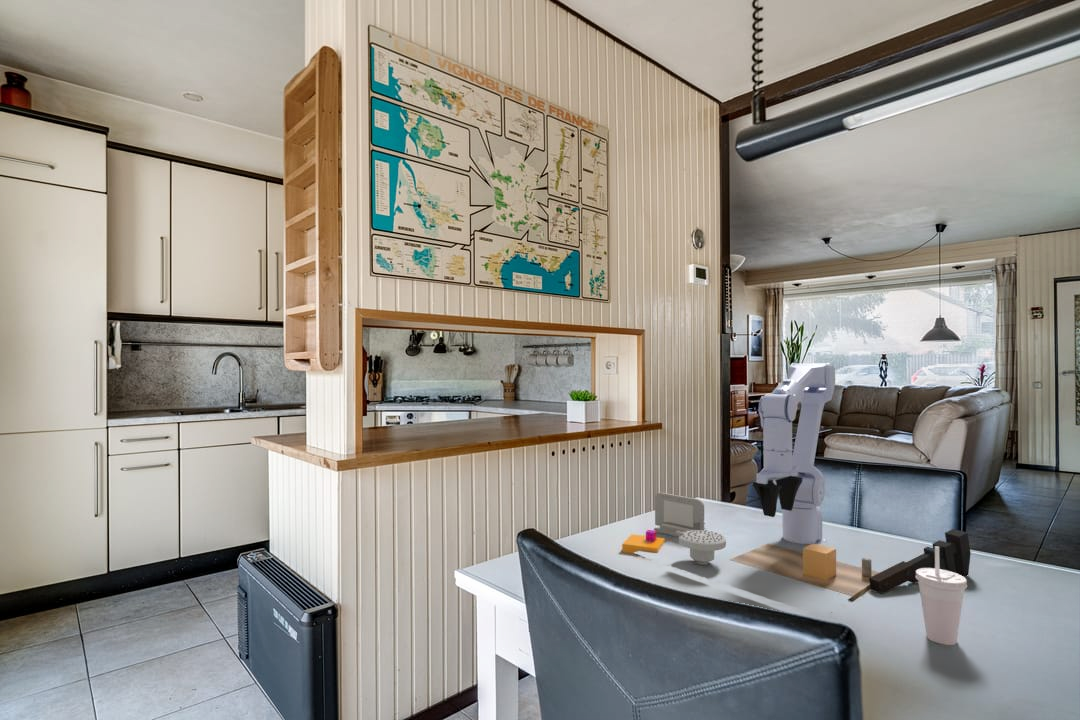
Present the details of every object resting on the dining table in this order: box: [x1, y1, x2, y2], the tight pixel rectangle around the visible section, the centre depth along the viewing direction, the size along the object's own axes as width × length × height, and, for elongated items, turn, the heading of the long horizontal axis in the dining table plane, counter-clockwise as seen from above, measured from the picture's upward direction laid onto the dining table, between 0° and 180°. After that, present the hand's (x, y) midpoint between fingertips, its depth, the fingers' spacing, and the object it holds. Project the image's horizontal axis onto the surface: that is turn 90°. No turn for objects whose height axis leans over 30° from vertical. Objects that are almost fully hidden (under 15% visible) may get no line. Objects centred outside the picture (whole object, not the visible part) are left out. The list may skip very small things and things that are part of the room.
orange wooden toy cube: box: [802, 543, 837, 580], centre depth 108 cm, size 4×4×5 cm
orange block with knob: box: [621, 529, 666, 555], centre depth 126 cm, size 8×8×4 cm
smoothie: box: [916, 546, 968, 646], centre depth 84 cm, size 6×6×14 cm
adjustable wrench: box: [869, 528, 972, 594], centre depth 106 cm, size 8×3×25 cm
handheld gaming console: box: [653, 492, 707, 538], centre depth 138 cm, size 13×9×10 cm
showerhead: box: [676, 529, 727, 565], centre depth 114 cm, size 9×7×10 cm
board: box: [729, 543, 880, 602], centre depth 112 cm, size 16×24×4 cm, turn 40°
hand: (778, 512), depth 119 cm, fingers open, 7 cm apart
